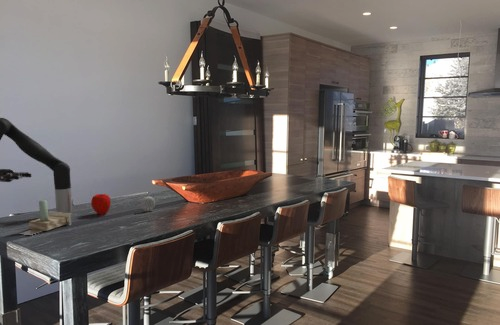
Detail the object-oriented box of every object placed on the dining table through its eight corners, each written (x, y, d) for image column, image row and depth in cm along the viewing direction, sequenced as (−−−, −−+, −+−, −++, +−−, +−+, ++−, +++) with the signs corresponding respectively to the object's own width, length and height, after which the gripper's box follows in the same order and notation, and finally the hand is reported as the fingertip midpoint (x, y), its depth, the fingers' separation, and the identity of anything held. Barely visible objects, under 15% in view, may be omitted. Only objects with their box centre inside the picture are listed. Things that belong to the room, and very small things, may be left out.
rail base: (49, 222, 238) (48, 211, 238) (71, 224, 233) (70, 212, 233) (13, 234, 215) (12, 221, 214) (36, 236, 210) (35, 223, 209)
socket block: (49, 222, 236) (49, 215, 235) (66, 224, 232) (65, 217, 232) (29, 228, 223) (29, 221, 222) (46, 230, 219) (46, 223, 218)
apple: (87, 215, 256) (86, 194, 254) (102, 211, 266) (101, 191, 265) (100, 217, 250) (99, 196, 249) (115, 213, 261) (114, 193, 259)
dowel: (44, 224, 228) (43, 200, 226) (50, 225, 226) (48, 200, 225) (38, 226, 224) (37, 201, 222) (44, 227, 222) (42, 201, 221)
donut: (142, 213, 261) (141, 197, 260) (139, 212, 264) (139, 197, 263) (156, 210, 268) (155, 195, 267) (153, 209, 270) (153, 195, 269)
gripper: (-9, 170, 230) (13, 171, 225) (13, 167, 243) (34, 168, 238) (-8, 183, 231) (14, 184, 225) (14, 179, 244) (35, 181, 239)
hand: (24, 176), depth 232 cm, fingers open, 8 cm apart
